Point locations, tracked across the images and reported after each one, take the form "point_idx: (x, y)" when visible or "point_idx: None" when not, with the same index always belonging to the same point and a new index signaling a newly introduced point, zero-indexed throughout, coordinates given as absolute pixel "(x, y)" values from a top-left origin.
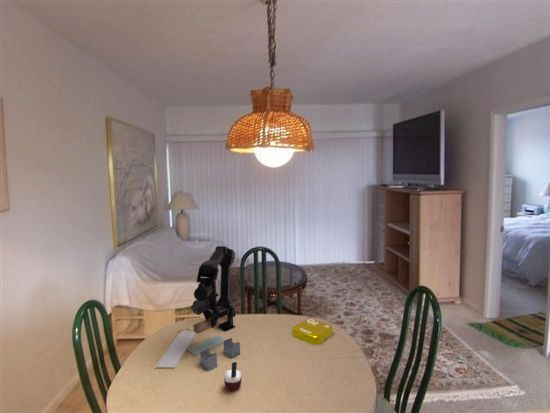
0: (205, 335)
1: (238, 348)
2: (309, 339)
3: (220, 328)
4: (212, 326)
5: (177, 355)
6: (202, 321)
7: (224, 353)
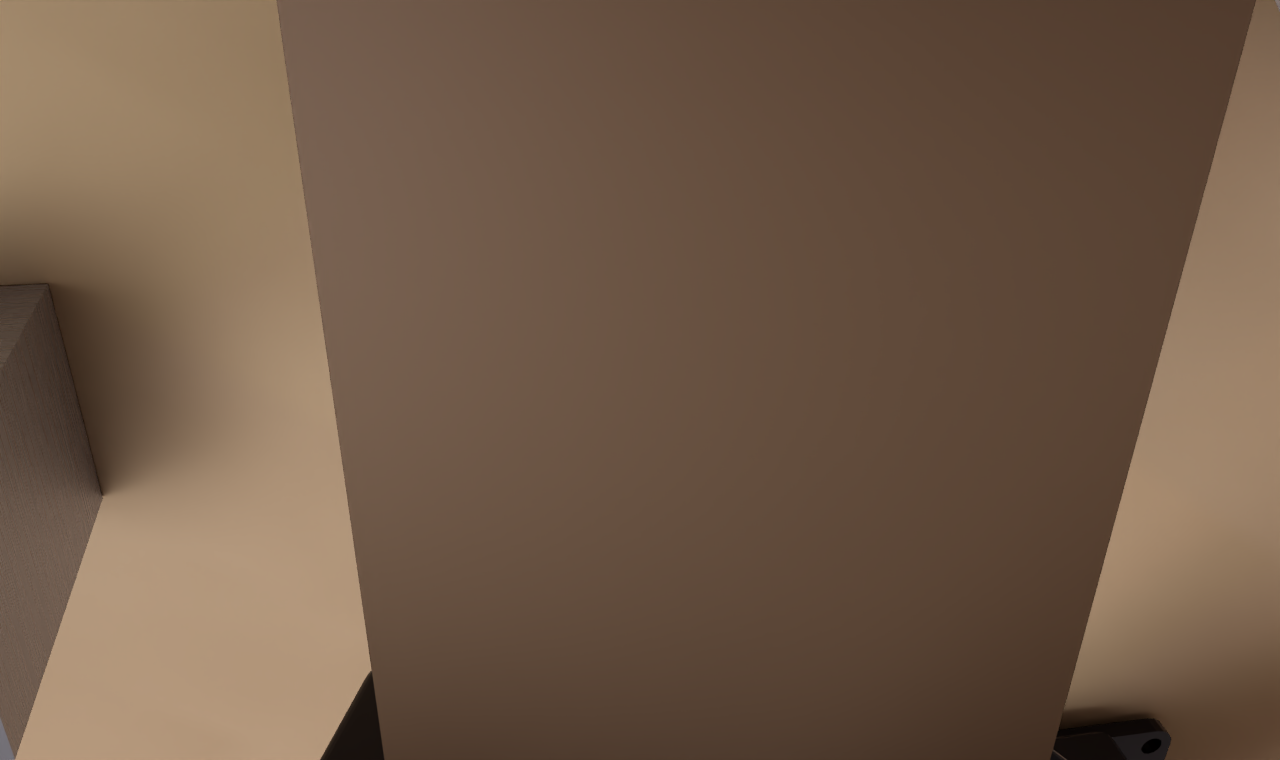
0: (1170, 411)
1: None
2: None
3: (1058, 740)
4: (367, 719)
5: None
6: (1031, 547)
7: (23, 290)
